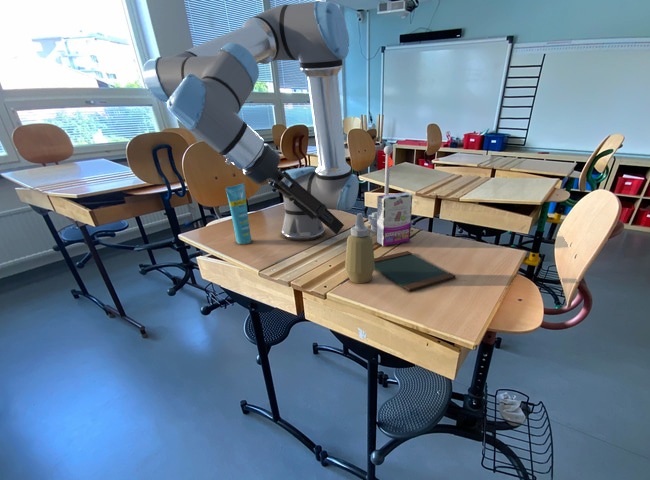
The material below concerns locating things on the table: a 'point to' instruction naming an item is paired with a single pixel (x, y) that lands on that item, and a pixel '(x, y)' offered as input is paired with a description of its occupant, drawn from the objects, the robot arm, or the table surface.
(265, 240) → the table surface
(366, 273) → the squeeze bottle
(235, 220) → the tube
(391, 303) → the table surface
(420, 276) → the desk pad
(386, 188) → the flag stand
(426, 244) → the table surface
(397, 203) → the candy bar box
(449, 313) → the table surface
